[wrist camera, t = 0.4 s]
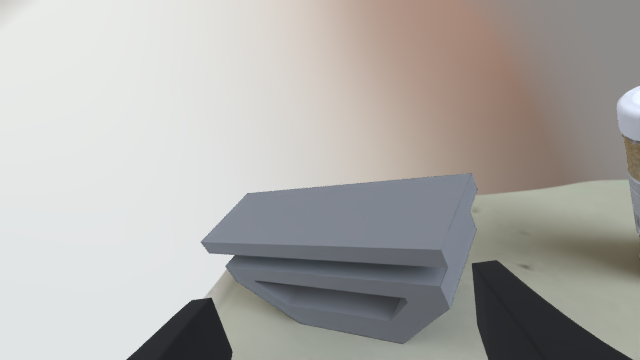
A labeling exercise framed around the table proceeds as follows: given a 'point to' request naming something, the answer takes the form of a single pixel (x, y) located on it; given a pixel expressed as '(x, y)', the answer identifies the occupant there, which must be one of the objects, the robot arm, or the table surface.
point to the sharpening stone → (354, 252)
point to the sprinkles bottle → (632, 144)
